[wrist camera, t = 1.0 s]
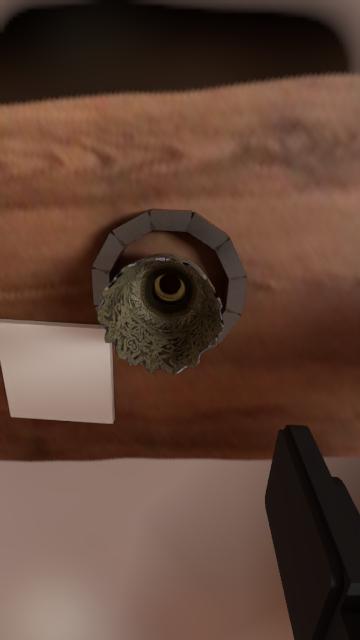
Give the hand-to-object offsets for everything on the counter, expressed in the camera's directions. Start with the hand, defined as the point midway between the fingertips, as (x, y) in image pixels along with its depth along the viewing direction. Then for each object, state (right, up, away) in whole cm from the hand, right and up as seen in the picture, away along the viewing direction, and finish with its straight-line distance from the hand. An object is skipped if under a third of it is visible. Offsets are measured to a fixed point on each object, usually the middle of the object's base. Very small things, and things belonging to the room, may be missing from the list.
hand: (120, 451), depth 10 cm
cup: (+1, +7, +17) cm, 18 cm away
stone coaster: (-9, -1, +20) cm, 22 cm away
